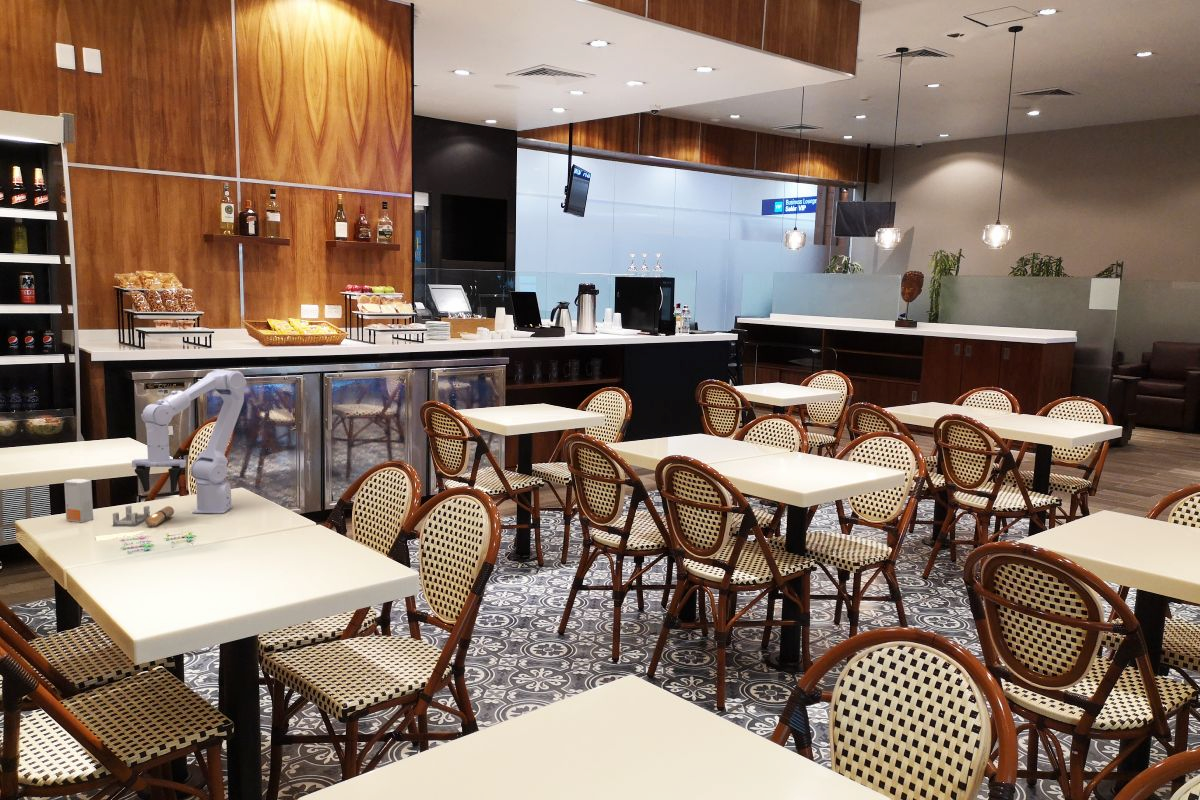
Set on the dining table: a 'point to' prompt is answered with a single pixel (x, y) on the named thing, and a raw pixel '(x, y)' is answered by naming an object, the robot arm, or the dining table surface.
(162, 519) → the tube
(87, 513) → the skincare box
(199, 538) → the dining table surface
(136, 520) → the cradle
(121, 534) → the clear flat square panel
